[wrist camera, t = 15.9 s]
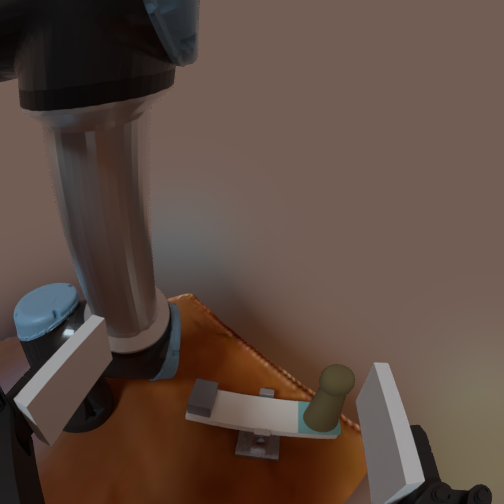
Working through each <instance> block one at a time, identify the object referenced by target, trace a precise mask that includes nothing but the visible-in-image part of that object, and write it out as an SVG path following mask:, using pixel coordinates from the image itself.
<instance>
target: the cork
mask: <svg viewBox="0 0 504 504" xmlns="http://www.w3.org/2000/svg"><path fill="white" fill-rule="evenodd" d="M354 383H355V377H354V374H353V372H352V370H350V369H349V368H348V367H346V366H343V365H338V364H335V365H330V366H328V367H327V368H325V369H324V370H323V372H322V373H321V376H320V387H319V389H318V391H317V392H316V394H315V396H314V397H313V399H312V400H311V402H310V404H309V405H308V407H307V409H306V410H305V412H304V414H303V420H304V422H305V424H306V425H307V426H308V427H309V428H310V429H312V430H314V431H317V432H329V431H331V430H333V429H335V427H336V426H337V425H338V421H339V418H340V415H341V411H342V408H343V404H344V400H345V397H346V394H348V393H349V392H350V391H351V390H352V388H353V387H354Z"/></svg>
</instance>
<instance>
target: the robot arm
mask: <svg viewBox="0 0 504 504" xmlns="http://www.w3.org/2000/svg"><path fill="white" fill-rule="evenodd" d="M199 3H200V0H0V82H3V81H7V80H12V79H16V78H18V85H19V97H20V108H21V111H22V112H23V113H24V114H26V115H28V116H29V117H31V118H33V119H34V120H36V121H38V122H39V123H40V124H41V125H42V129H43V137H44V143H45V151H46V157H47V163H48V168H49V173H50V179H51V184H52V188H53V192H54V197H55V202H56V206H57V210H58V214H59V218H60V222H61V225H62V229H63V232H64V236H65V239H66V243H67V246H68V249H69V253H70V256H71V259H72V262H73V264H74V268H75V270H76V273H77V276H78V279H79V282H80V285H81V288H82V290H83V293H84V295H85V298H86V300H83V299H80V294H79V292H78V290H77V289H76V288H75V287H74V286H72V285H70V284H67V283H55V284H49V285H45V286H42V287H39V288H37V289H35V290H33V291H31V292H29V293H28V294H27V295H25V296H24V297H23V298H22V299H21V300H20V301H19V303H18V304H17V306H16V308H15V311H14V321H15V324H16V329H17V336H18V338H19V340H20V342H21V345H22V348H23V350H24V353H25V355H26V358H27V360H28V362H29V365H30V367H31V368H30V369H29V371H27V372H26V373H25V374H24V376H23V377H21V379H20V380H19V381H18V382H17V383H16V384H15V385H14V386H13V387H12V388H11V390H10V391H9V392H8V393H7V394H6V395H5V394H4V392H3V390H2V388H1V387H0V504H45V501H44V497H43V493H42V489H41V484H40V480H39V475H38V470H37V465H36V459H35V453H34V446H33V440H32V437H31V435H32V433H33V432H34V433H35V435H36V436H37V438H38V439H39V440H41V441H42V442H44V443H46V444H47V445H49V446H52V445H53V443H54V442H55V440H56V439H57V437H58V436H59V434H60V433H61V431H62V430H63V431H66V432H72V433H80V432H86V431H90V430H92V429H95V428H97V427H98V426H100V425H101V424H102V423H104V422H105V421H106V419H107V418H108V417H109V415H110V413H111V411H112V408H113V396H112V393H111V389H110V387H109V385H108V383H107V381H106V380H105V379H104V377H114V378H129V379H149V380H150V381H156V380H158V379H170V378H172V377H174V376H175V374H176V372H177V369H178V364H179V350H180V337H181V320H180V310H179V307H178V306H177V305H176V304H174V303H170V302H167V300H166V298H165V296H164V295H163V293H162V292H161V291H160V290H159V289H158V288H157V287H155V280H154V268H153V254H152V239H151V220H150V187H149V186H150V183H149V181H150V180H149V157H150V156H149V155H150V154H149V152H150V118H151V109H152V107H153V105H154V104H155V103H157V102H158V101H159V100H160V99H161V98H162V97H163V96H165V95H166V94H167V93H168V92H169V91H170V90H171V89H172V88H173V85H174V76H175V68H176V66H183V67H184V66H186V65H188V64H192V63H194V62H195V61H196V60H197V57H198V30H199V28H198V27H199ZM356 404H357V410H358V416H359V421H360V427H361V432H362V438H363V444H364V451H365V457H366V464H367V471H368V478H369V486H370V494H371V502H372V504H491V501H492V494H491V491H490V489H489V488H488V487H487V486H485V485H482V484H480V485H476V486H474V487H473V488H472V489H470V490H469V491H466V490H453V489H451V487H450V486H449V485H448V484H446V483H444V482H441V479H440V477H439V473H438V470H437V466H436V463H435V460H434V456H433V453H432V452H431V447H430V445H429V441H428V438H427V435H426V433H425V432H424V430H423V429H422V428H421V426H420V425H411V426H409V423H408V419H407V417H406V413H405V410H404V407H403V404H402V401H401V398H400V395H399V392H398V390H397V387H396V384H395V381H394V378H393V375H392V373H391V370H390V367H389V364H388V363H374V364H373V366H372V368H371V370H370V372H369V375H368V377H367V379H366V381H365V383H364V385H363V387H362V390H361V391H360V394H359V396H358V398H357V400H356Z"/></svg>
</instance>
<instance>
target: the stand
mask: <svg viewBox="0 0 504 504" xmlns="http://www.w3.org/2000/svg"><path fill="white" fill-rule="evenodd" d="M259 397H265V398H272V399H273V397H274V390H272V389H270V388H260V393H259ZM270 432H271V430H266V429H258V428H255V429H254V432H249V431H242V430H239V435H238V440H237V445H236V450H235V456H236V457H242V458H249V459H256V460H264V461H273V462H278V459H279V447H280V435H271V434H270Z"/></svg>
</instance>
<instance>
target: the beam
mask: <svg viewBox="0 0 504 504" xmlns="http://www.w3.org/2000/svg"><path fill="white" fill-rule="evenodd" d="M309 404H310V402H303V401H289V400H280V399H272V398H265V397H258V396H251V395H245V394H239V393H233V392H227V391H222V390H218V382H213V381H208V380H203V379H199V378H197V379H196V382H195V384H194V387H193V389H192V392H191V395H190V397H189V400H188V403H187V412H186V419H187V420H191V421H196V422H200V423H205V424H210V425H214V426H220V427H225V428H230V429H236V430H242V431H249V432H254V429H255V428H258V429H266V430H271V432H270V434H271V435H280V436H290V437H303V438H319V439H336V438H337V436H338V435H341V428H340V420H339V421H338V425H337V426H336V427H335V429H333V430H331V431H329V432H317V431H314V430H312V429H310V428H309V427H308V426H307V425H306V424H305V422H304V420H303V414H304V412H305V410H306V409H307V407H308V405H309Z"/></svg>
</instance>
